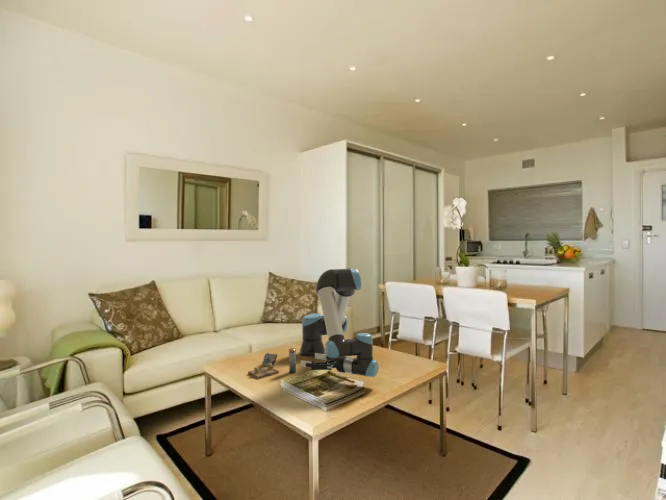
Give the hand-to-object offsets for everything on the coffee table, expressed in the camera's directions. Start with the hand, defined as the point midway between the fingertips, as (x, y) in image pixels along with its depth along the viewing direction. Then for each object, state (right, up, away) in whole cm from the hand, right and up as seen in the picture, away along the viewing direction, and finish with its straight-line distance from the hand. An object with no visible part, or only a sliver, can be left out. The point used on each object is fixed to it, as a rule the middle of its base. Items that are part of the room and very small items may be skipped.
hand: (308, 359), depth 190 cm
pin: (-8, -8, +5) cm, 13 cm away
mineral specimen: (-22, -8, +17) cm, 29 cm away
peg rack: (-23, -8, +3) cm, 25 cm away
